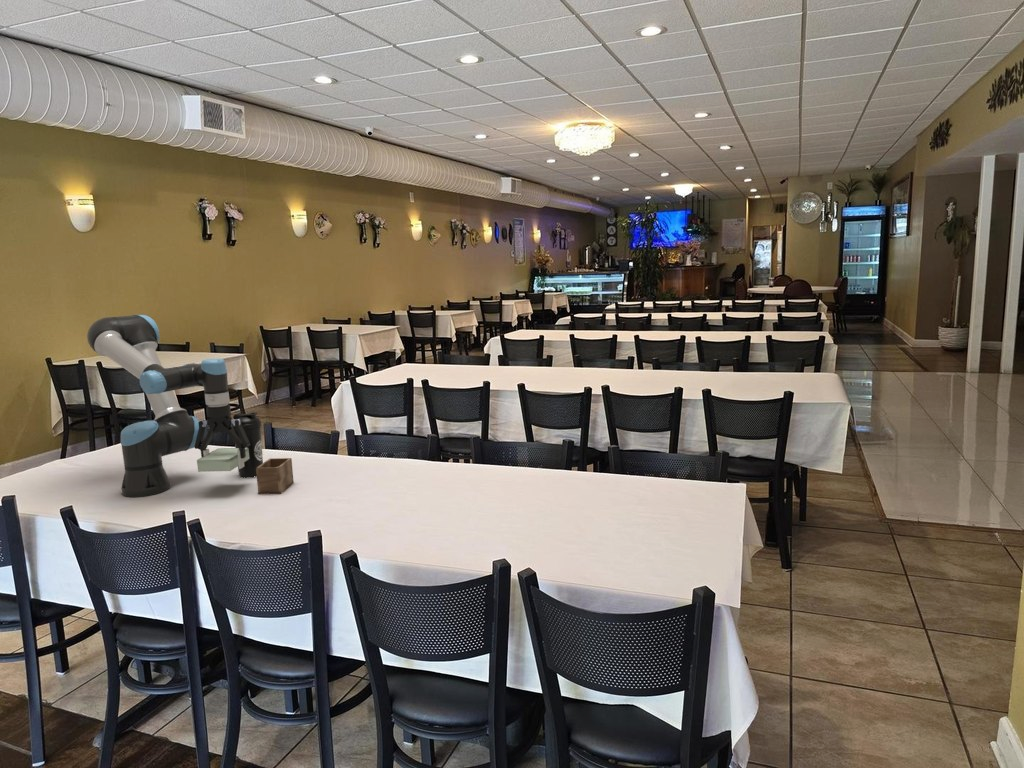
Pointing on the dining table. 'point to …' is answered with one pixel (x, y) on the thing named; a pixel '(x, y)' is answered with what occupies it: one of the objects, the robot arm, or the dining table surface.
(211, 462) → the lid
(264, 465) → the box
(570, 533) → the dining table surface
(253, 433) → the water bottle
